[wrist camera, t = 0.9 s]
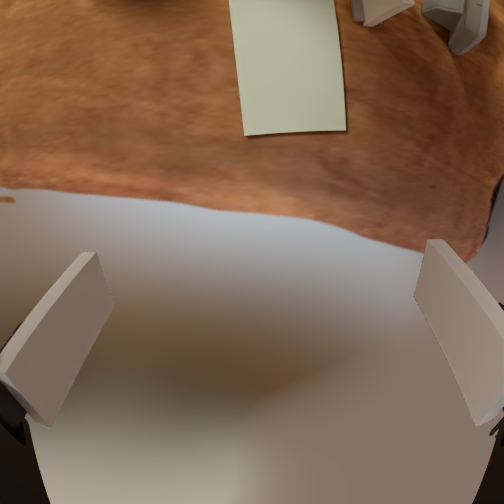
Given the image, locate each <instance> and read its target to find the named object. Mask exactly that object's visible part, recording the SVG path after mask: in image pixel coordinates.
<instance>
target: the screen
mask: <svg viewBox="0 0 504 504" xmlns="http://www.w3.org/2000/svg"><path fill="white" fill-rule="evenodd" d="M350 3H351V9H352V16H353V22H363V26H369V27H373V26H375V25H377V24H383V23H384V20H386V19H388V18H390V17H392V16H394V15H396V14H397V13H399V12H401V11H403V10H405V9H407V8H409V7H412V6H414V5H415V3H414V0H350Z"/></svg>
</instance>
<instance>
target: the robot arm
mask: <svg viewBox="0 0 504 504" xmlns="http://www.w3.org/2000/svg"><path fill="white" fill-rule="evenodd" d="M414 298H415V300H416V302H417V303H418V305H419V307H420V309H421V311H422V313H423V314H424V316H425V318H426V320H427V322H428V324H429V325H430V327H431V329H432V331H433V333H434V335H435V337H436V339H437V341H438V343H439V345H440V347H441V349H442V351H443V353H444V355H445V357H446V359H447V361H448V363H449V365H450V368H451V370H452V372H453V374H454V376H455V379H456V381H457V383H458V385H459V388H460V390H461V392H462V394H463V396H464V399H465V402H466V404H467V406H468V409H469V411H470V414H471V416H472V419H473V421H474V424H475V426H478V425H480V424H483V423H486V422H488V421H491V420H493V419H494V418H495V417H496V415H497V414H498V413H499V412H500V411H501V409H503V411H504V305H503V304H501V303H497V302H496V300H495V299H494V298H493V297H492V295H491V294H490V293H489V291H488V290H487V289H486V288H485V287H484V285H483V284H482V283H481V282H480V280H479V279H478V278H477V277H476V276H475V274H474V273H473V272H472V271H471V270H470V269H469V267H468V266H467V265H466V264H465V263H464V262H463V261H462V259H461V258H460V257H459V256H458V255H457V254H456V253H455V252H454V251H453V250H452V248H451V247H450V246H449V245H448V244H447V243H446V242H445V241H444V240H443V239H427V243H426V248H425V252H424V257H423V261H422V266H421V270H420V274H419V278H418V282H417V286H416V290H415V293H414ZM114 306H115V303H114V301H113V298H112V295H111V293H110V290H109V287H108V285H107V282H106V279H105V276H104V273H103V270H102V267H101V265H100V261H99V258H98V256H97V252H86V253H85V252H84V253H81V255H80V256H79V257H78V258H77V259H76V260H75V261H74V262H73V263H72V264H71V265H70V266H69V268H68V269H67V270H66V271H65V272H64V273H63V274H62V276H61V277H60V278H59V279H58V280H57V281H56V282H55V284H54V285H53V286H52V287H51V289H49V291H48V292H47V293H46V294H45V295H44V297H43V298H42V299H41V300H40V302H39V303H38V304H37V305H36V307H35V308H34V309H33V310H32V312H31V313H30V314H29V316H28V317H27V318H26V319H25V320H24V321H23V322H21V323H20V324H19V325H18V327H17V328H16V329H15V331H14V332H13V334H12V336H10V338H9V339H8V340H7V343H5V344H4V346H3V347H2V349H1V350H0V504H50V501H49V498H48V496H47V493H46V489H45V486H44V483H43V480H42V476H41V473H40V470H39V466H38V462H37V459H36V455H35V450H34V446H33V442H32V438H31V433H30V428H29V424H28V422H27V420H26V419H25V418H24V417H25V415H26V413H28V414H29V415H30V416H31V417H32V418H33V419H34V420H35V421H36V422H38V423H41V424H43V425H46V426H49V427H52V426H53V424H54V421H55V419H56V417H57V415H58V413H59V410H60V408H61V406H62V404H63V402H64V400H65V398H66V396H67V394H68V392H69V390H70V388H71V386H72V384H73V381H74V380H75V378H76V376H77V374H78V372H79V370H80V368H81V366H82V364H83V362H84V360H85V358H86V356H87V355H88V353H89V351H90V349H91V347H92V345H93V343H94V342H95V340H96V338H97V336H98V334H99V333H100V331H101V329H102V327H103V326H104V324H105V322H106V320H107V319H108V317H109V315H110V313H111V312H112V310H113V308H114ZM498 429H499V430H498ZM497 430H498V434H497V435H496V436H495V438H496V441H495V444H494V447H493V451H492V454H491V457H490V460H489V463H488V466H487V468H486V471H485V474H484V477H483V479H482V482H481V484H480V487H479V489H478V492H477V494H476V497H475V499H474V501H473V503H472V504H504V417H503V418H502V419H501V420H500V422H499V423H498V424H497V425H496V426H495V427H494V428H493V429H492V430H491V432H490V434H489V435H490V436H492V435H493V434H494V433H495V432H496V431H497Z"/></svg>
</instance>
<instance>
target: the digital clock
mask: <svg viewBox="0 0 504 504" xmlns="http://www.w3.org/2000/svg"><path fill="white" fill-rule="evenodd" d="M489 2H490V0H423V6H422V12H421V14H422V15H423V16H425V17H427V18H429V19H431V20H433V21H434V22H436V23H438V24H440V25H442V26H443V27H445V28H447V29H448V30H450V35H449V41H448V46H449V48H450V50H451V51H452V52H453V53H454V54H456V55H462V54H465V53H467V52H468V51H469V50H470V49H472V48H473V47H474V46H475V45H477V44H478V43H479V42H480V41H482V40H483V39H484V38H485V36H486V32H487V25H488V15H489Z"/></svg>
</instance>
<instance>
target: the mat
mask: <svg viewBox="0 0 504 504" xmlns="http://www.w3.org/2000/svg"><path fill="white" fill-rule="evenodd" d="M229 6H230V15H231V23H232V32H233V40H234V49H235V57H236V66H237V74H238V83H239V92H240V100H241V109H242V118H243V127H244V136H248V135H259V134H271V133H286V132H304V131H336V130H346V119H345V101H344V86H343V74H342V63H341V53H340V44H339V35H338V27H337V20H336V13H335V6H334V0H229Z"/></svg>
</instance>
